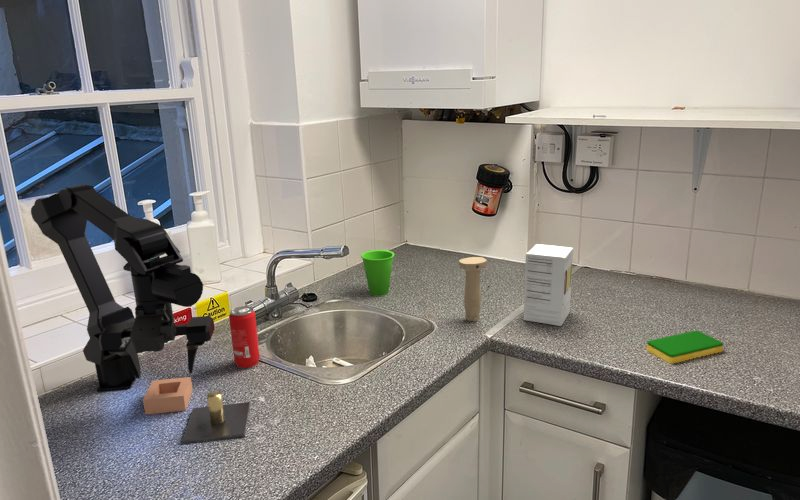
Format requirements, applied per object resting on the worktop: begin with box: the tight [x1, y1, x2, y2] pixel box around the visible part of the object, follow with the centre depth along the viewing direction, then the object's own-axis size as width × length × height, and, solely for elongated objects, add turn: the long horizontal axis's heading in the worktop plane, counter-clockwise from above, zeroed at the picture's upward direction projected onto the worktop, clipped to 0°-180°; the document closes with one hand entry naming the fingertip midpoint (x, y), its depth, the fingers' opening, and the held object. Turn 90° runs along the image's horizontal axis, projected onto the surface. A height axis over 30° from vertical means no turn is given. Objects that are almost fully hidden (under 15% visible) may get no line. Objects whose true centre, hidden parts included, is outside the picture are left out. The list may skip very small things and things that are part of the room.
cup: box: [360, 249, 395, 297], centre depth 161 cm, size 9×9×11 cm
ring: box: [142, 376, 193, 415], centre depth 110 cm, size 7×7×3 cm
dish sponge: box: [646, 330, 724, 365], centre depth 125 cm, size 7×14×2 cm, turn 110°
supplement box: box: [523, 243, 574, 327], centre depth 141 cm, size 10×9×17 cm
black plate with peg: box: [182, 390, 251, 444], centre depth 103 cm, size 10×10×6 cm
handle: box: [458, 256, 488, 323], centre depth 141 cm, size 5×6×15 cm
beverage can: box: [228, 305, 260, 369], centre depth 123 cm, size 5×5×12 cm
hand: (165, 374), depth 109 cm, fingers open, 9 cm apart
